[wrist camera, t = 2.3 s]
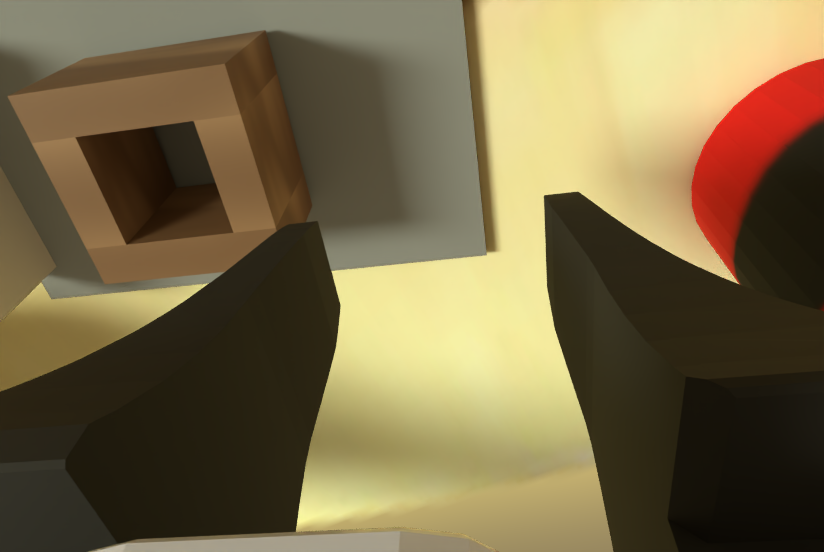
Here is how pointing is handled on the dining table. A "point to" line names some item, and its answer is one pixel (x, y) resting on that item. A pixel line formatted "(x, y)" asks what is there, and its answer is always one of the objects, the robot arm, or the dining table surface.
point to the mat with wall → (308, 113)
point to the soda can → (769, 187)
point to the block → (144, 161)
